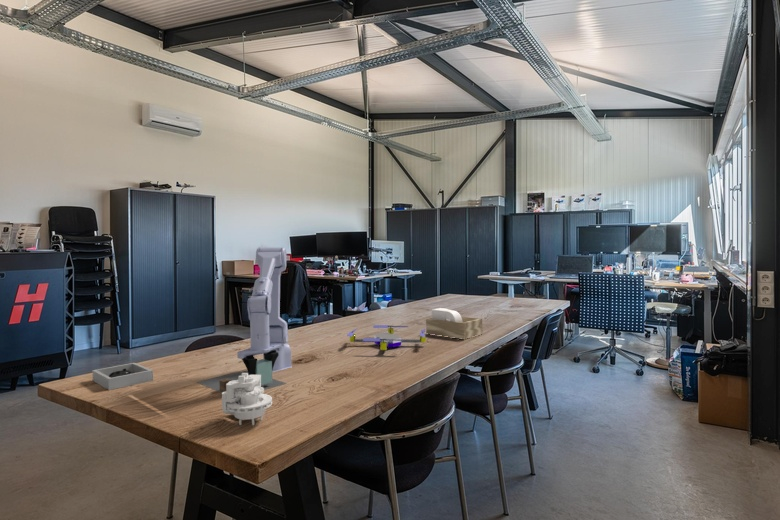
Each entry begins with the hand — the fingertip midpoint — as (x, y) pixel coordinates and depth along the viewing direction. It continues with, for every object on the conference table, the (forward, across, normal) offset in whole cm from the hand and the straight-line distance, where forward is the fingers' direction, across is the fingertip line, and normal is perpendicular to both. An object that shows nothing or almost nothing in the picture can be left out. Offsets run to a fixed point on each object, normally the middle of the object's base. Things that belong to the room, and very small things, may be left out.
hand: (260, 377), depth 140 cm
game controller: (+4, -26, +44) cm, 51 cm away
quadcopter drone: (+4, +70, +9) cm, 71 cm away
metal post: (+3, 0, 0) cm, 3 cm away
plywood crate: (+3, +110, 0) cm, 110 cm away
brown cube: (+3, -9, +5) cm, 11 cm away
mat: (+3, -2, +8) cm, 9 cm away
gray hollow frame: (+3, -25, +43) cm, 50 cm away
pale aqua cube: (+2, 0, 0) cm, 2 cm away
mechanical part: (+4, -17, -21) cm, 27 cm away
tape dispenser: (+4, +109, +1) cm, 109 cm away
